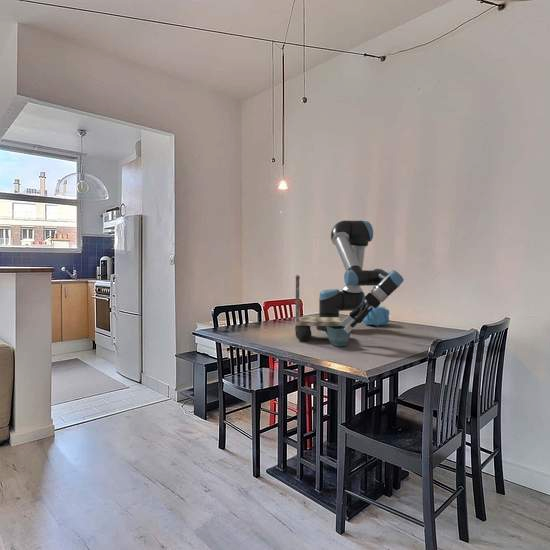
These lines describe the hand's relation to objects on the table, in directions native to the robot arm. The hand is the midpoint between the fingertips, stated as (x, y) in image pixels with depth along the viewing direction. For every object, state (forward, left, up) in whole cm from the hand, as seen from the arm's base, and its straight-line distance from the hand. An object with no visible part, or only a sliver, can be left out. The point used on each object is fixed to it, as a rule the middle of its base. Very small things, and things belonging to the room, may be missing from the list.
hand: (343, 328), depth 190 cm
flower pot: (+2, -1, -8) cm, 9 cm away
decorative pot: (-48, -49, -8) cm, 69 cm away
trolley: (+4, -20, -8) cm, 22 cm away
